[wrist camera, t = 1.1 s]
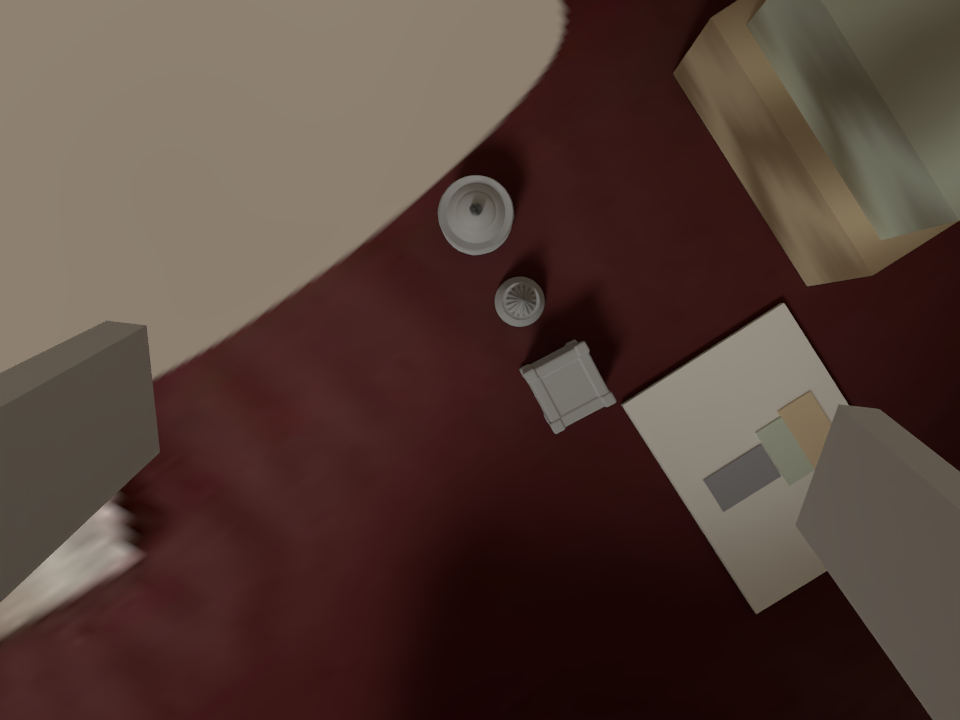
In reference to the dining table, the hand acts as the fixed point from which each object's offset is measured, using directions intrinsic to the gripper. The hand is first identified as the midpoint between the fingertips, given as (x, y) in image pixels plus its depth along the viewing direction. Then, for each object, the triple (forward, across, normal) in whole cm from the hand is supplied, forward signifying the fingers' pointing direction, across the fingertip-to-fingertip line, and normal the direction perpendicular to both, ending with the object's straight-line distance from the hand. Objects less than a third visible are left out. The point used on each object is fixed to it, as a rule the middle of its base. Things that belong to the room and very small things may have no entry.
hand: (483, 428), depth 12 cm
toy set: (+18, -1, +3) cm, 19 cm away
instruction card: (+16, -14, +8) cm, 23 cm away
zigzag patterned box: (+21, -16, -8) cm, 28 cm away
